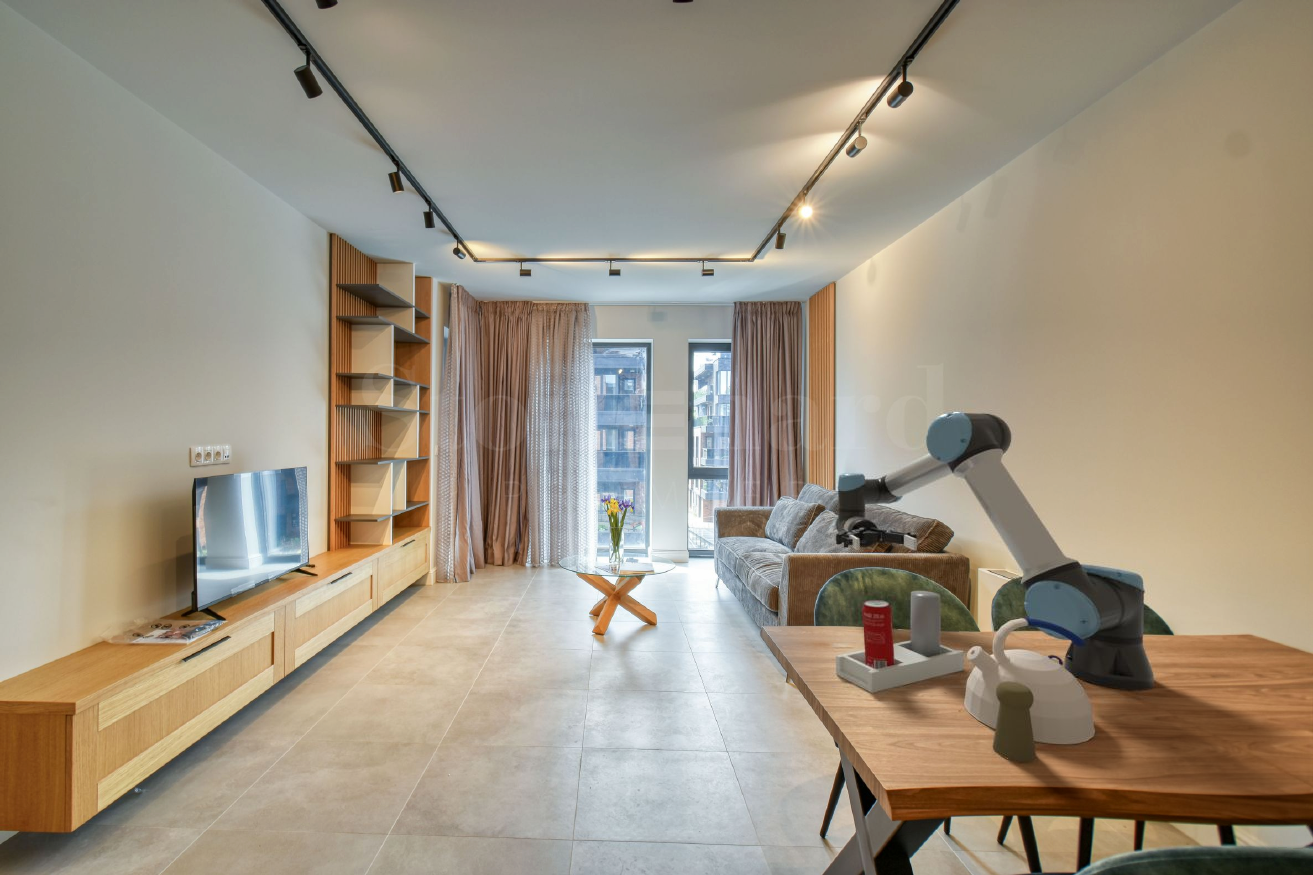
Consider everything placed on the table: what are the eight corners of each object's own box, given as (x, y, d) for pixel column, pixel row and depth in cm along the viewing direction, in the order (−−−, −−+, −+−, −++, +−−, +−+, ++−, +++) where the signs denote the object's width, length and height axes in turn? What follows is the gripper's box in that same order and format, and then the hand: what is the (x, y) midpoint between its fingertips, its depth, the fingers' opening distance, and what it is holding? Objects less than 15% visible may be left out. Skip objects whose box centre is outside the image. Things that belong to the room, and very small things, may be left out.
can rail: (925, 654, 138) (925, 586, 137) (963, 669, 129) (964, 596, 128) (836, 674, 126) (836, 599, 126) (871, 692, 117) (872, 612, 117)
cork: (984, 742, 98) (984, 677, 98) (1018, 741, 99) (1019, 676, 99) (1009, 763, 92) (1009, 693, 92) (1045, 761, 93) (1046, 692, 93)
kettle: (943, 690, 118) (944, 601, 118) (1050, 693, 117) (1051, 603, 117) (996, 743, 98) (997, 636, 98) (1125, 748, 97) (1126, 639, 97)
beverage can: (900, 678, 121) (900, 606, 121) (870, 679, 121) (870, 606, 121) (886, 667, 127) (886, 598, 127) (857, 668, 127) (857, 598, 127)
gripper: (907, 545, 163) (939, 560, 142) (815, 544, 164) (834, 559, 143) (906, 518, 163) (939, 529, 142) (815, 517, 164) (834, 528, 143)
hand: (886, 544), depth 142 cm, fingers open, 13 cm apart
